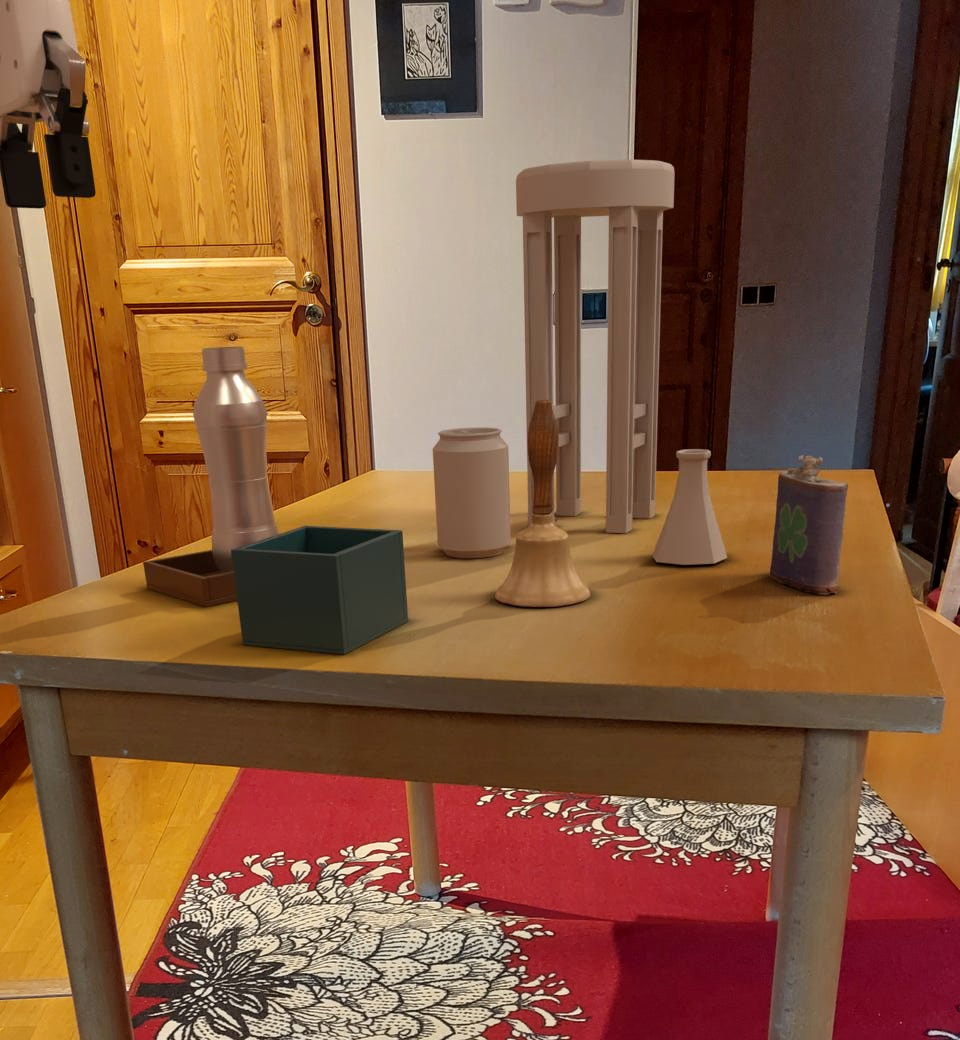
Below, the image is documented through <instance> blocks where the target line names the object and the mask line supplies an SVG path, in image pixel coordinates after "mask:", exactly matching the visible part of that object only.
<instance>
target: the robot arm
mask: <svg viewBox="0 0 960 1040" xmlns="http://www.w3.org/2000/svg"><path fill="white" fill-rule="evenodd" d="M73 19H74V18H73V14H72V9H71V4H70V0H0V179H1V184H2V190H3V191H2V192H3V197H4V202H5V205H6V206H7V207H8V208H14V209H44V208H46V206H47V199H46V192H45V187H44V180H43V173H42V166H41V161H40V153H39V151H34V141H35V132H36V124H37V123H42V122H44V124H45V126H46V128H47V130H48V132H49V133H44V134H43V138H44V145H45V151H46V152H45V153H46V158H47V165H48V172H49V177H50V184H51V191H52V193H53V195H54V196H55V197H58V198H79V199H80V198H81V199H91V198H94V197H95V196H96V194H97V193H96V191H97V190H96V184H95V178H94V171H93V170H94V169H93V164H92V163H93V162H92V157H91V149H90V143H89V133H90V124H89V121H88V119H87V116H86V112H87V107H88V104H89V99H88V96H87V93H86V69H87V68H86V67H87V66H86V61H85V59H84V57H83V56H82V55H80V54H79V49H78V43H77V36H76V30H75V24H74V20H73ZM18 125H21V130H20V128H19V126H18Z"/></svg>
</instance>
